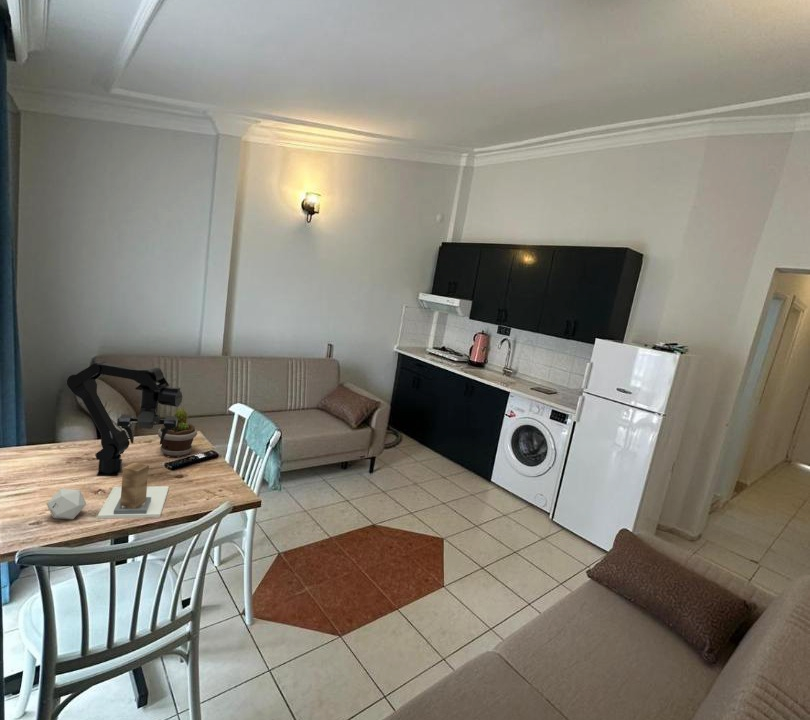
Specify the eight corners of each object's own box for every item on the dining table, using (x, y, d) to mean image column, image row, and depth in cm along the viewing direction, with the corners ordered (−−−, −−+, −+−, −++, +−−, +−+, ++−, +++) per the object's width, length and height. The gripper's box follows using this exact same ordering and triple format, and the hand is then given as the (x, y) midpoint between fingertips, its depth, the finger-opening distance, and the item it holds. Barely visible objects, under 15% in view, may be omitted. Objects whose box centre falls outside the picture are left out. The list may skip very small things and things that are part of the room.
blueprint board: (97, 518, 140) (97, 511, 139) (113, 489, 158) (114, 483, 158) (159, 517, 146) (160, 510, 145) (168, 489, 164) (169, 483, 164)
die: (48, 513, 139) (36, 498, 132) (78, 492, 145) (68, 477, 138) (65, 531, 137) (54, 516, 130) (95, 509, 143) (86, 494, 136)
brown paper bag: (120, 505, 145) (123, 467, 143) (131, 498, 150) (134, 462, 148) (134, 508, 144) (137, 471, 142) (145, 501, 149) (148, 465, 147)
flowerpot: (189, 461, 189) (193, 415, 186) (149, 458, 187) (153, 410, 184) (199, 449, 203) (204, 405, 200) (163, 445, 201) (166, 401, 198)
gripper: (114, 407, 155) (111, 451, 157) (175, 410, 162) (172, 452, 164) (122, 398, 165) (119, 440, 168) (179, 401, 172) (175, 441, 174)
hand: (146, 443), depth 168 cm, fingers open, 9 cm apart
